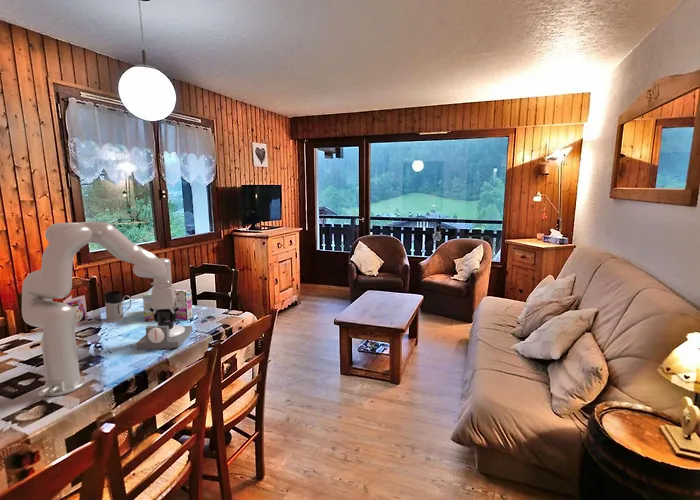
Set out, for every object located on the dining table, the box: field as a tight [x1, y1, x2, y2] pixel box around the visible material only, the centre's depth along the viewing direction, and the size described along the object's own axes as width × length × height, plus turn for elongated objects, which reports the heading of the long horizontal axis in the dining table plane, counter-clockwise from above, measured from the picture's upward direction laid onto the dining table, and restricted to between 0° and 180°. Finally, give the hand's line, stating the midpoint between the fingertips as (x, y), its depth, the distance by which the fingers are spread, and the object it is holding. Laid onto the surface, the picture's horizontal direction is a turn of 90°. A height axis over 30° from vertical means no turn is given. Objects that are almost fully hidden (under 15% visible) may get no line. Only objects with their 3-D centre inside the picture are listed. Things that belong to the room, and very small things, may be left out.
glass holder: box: [104, 290, 132, 323], centre depth 200 cm, size 9×14×15 cm, turn 88°
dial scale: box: [135, 324, 193, 350], centre depth 173 cm, size 21×18×10 cm
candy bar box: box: [174, 287, 194, 321], centre depth 203 cm, size 11×5×16 cm, turn 73°
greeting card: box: [62, 294, 88, 327], centre depth 191 cm, size 11×7×15 cm, turn 165°
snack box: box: [142, 285, 155, 322], centre depth 208 cm, size 21×6×15 cm, turn 13°
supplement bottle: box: [156, 309, 174, 330], centre depth 174 cm, size 7×7×12 cm
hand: (165, 320), depth 174 cm, fingers closed on supplement bottle, 6 cm apart
